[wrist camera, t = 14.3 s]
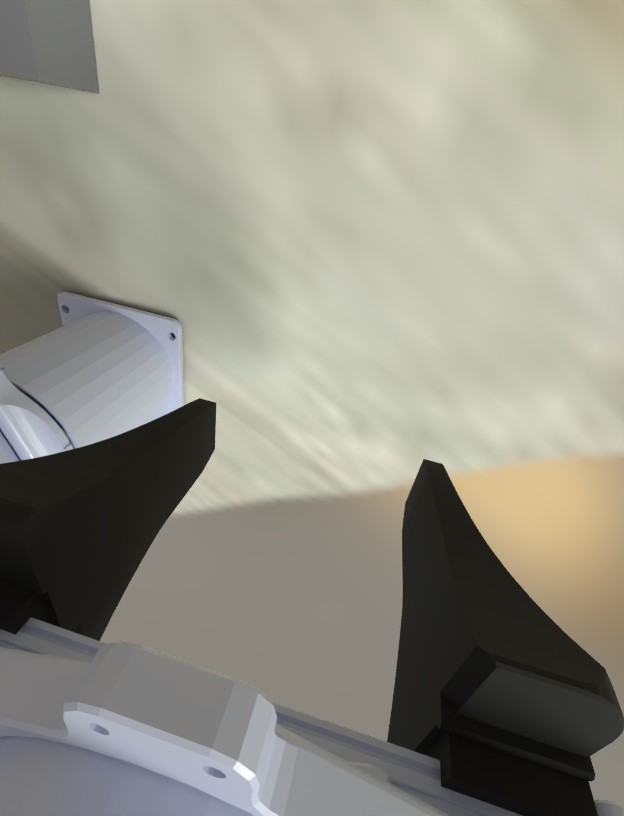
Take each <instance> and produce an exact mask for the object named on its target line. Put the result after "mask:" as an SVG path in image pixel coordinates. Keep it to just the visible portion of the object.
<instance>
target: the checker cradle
mask: <svg viewBox="0 0 624 816" xmlns="http://www.w3.org/2000/svg"><path fill="white" fill-rule="evenodd" d="M0 75H4V76H9V77H14V78H20V79H25V80H30V81H35V82H41V83H46V84H51V85H57V86H62V87H67V88H72V89H78V90H83V91H88V92H94V93H99V87H98V78H97V69H96V59H95V50H94V41H93V32H92V23H91V13H90V4H89V0H0Z"/></svg>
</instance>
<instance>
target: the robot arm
mask: <svg viewBox="0 0 624 816" xmlns="http://www.w3.org/2000/svg"><path fill="white" fill-rule="evenodd" d="M57 302H58V307H59V312H60V317H61V321H62V327H60V328H58V329H55V330H53V331H51V332H49V333H46V334H44V335H42V336H40V337H38V338H35V339H33V340H31V341H29V342H26V343H24V344H22V345H20V346H17V347H15V348H13V349H11V350H9V351H6V352H4V353H2V354H0V816H624V805H622V804H619V803H616V802H612V801H608V800H595V801H594V800H593V796H592V792H591V789H590V785H589V781H593V780H594V779H595V773H594V769H593V766H592V762H591V759H590V756H591V755H592V754H594V753H596V752H597V751H599V750H600V749H602V748H604V747H605V746H607V745H608V744H610V743H612V742H613V741H614V740H615V739H616V738H618V737H619V736H620V735H621V733H622V732H623V729H624V717H623V714H622V711H621V708H620V705H619V703H618V700H617V697H616V694H615V691H614V689H613V686H612V684H611V682H610V679H609V677H608V675H607V673H606V670H605V668H604V667H602V666H601V665H600V664H599V663H598V662H597V661H596V660H594V659H593V658H592V657H591V656H590V655H589V654H588V653H587V652H586V651H585V650H583V649H582V648H581V647H580V646H579V645H578V644H577V643H576V642H574V641H573V640H572V639H571V638H570V637H569V636H568V635H567V634H566V633H565V632H564V631H562V629H561V628H559V626H558V625H556V624H555V623H554V622H553V620H552V619H550V618H549V616H547V615H546V614H545V613H544V612H543V610H541V608H540V607H539V606H538V605H537V604H536V603H535V602H534V601H533V600H532V599H531V598H530V597H529V595H528V594H527V593H526V592H525V591H524V590H523V589H522V587H521V586H520V585H519V584H518V583H517V582H516V581H515V579H514V578H513V577H512V576H511V575H510V573H509V572H508V571H507V570H506V568H505V567H504V566H503V565H502V563H501V562H500V560H499V559H498V558H497V556H496V555H495V554H494V552H493V551H492V550H491V548H490V547H489V546H488V544H487V543H486V541H485V540H484V538H483V537H482V535H481V533H480V532H479V530H478V529H477V527H476V526H475V524H474V522H473V521H472V519H471V517H470V516H469V514H468V512H467V510H466V508H465V507H464V505H463V503H462V501H461V499H460V497H459V496H458V494H457V492H456V490H455V488H454V486H453V484H452V482H451V480H450V478H449V476H448V474H447V472H446V470H445V468H444V466H443V464H440V463H436V462H433V461H429V460H425V459H424V460H423V462H422V465H421V467H420V469H419V472H418V474H417V477H416V479H415V481H414V484H413V486H412V489H411V491H410V494H409V496H408V498H407V501H406V504H405V511H404V519H403V528H402V529H403V530H402V554H403V555H402V558H403V559H402V561H403V608H402V619H401V630H400V641H399V651H398V660H397V669H396V677H395V687H394V694H393V703H392V710H391V718H390V725H389V732H388V740H387V742H386V741H383V740H380V739H377V738H374V737H371V736H369V735H366V734H363V733H360V732H357V731H354V730H351V729H349V728H346V727H343V726H340V725H337V724H334V723H331V722H329V721H326V720H323V719H320V718H317V717H314V716H311V715H309V714H306V713H303V712H300V711H297V710H294V709H291V708H289V707H286V706H283V705H280V704H277V703H274V702H272V701H271V700H270V699H269V698H268V697H267V696H265V695H264V694H263V693H262V692H261V691H260V690H259V689H257V688H255V687H253V686H251V685H249V684H247V683H245V682H243V681H241V680H239V679H237V678H234V677H231V676H228V675H225V674H222V673H219V672H217V671H214V670H211V669H208V668H205V667H202V666H199V665H196V664H193V663H190V662H188V661H185V660H182V659H179V658H176V657H173V656H170V655H168V654H165V653H162V652H159V651H156V650H153V649H150V648H147V647H145V646H142V645H138V644H133V643H129V642H124V641H118V642H114V643H109V644H106V643H103V642H100V639H101V637H102V635H103V633H104V631H105V629H106V627H107V625H108V623H109V620H110V618H111V616H112V614H113V613H114V611H115V609H116V607H117V605H118V603H119V601H120V599H121V597H122V596H123V594H124V592H125V590H126V588H127V586H128V584H129V582H130V581H131V579H132V577H133V575H134V573H135V572H136V570H137V568H138V566H139V564H140V563H141V561H142V559H143V557H144V556H145V554H146V552H147V550H148V548H149V547H150V545H151V544H152V542H153V540H154V539H155V537H156V535H157V533H158V532H159V530H160V529H161V528H162V526H163V525H164V523H165V522H166V520H167V519H168V517H169V516H170V515H171V513H172V512H173V511H174V509H175V508H176V507H177V505H178V504H179V503H180V501H181V500H182V499H183V497H184V496H185V495H186V493H187V492H188V491H189V489H190V488H191V487H192V485H193V484H194V483H195V481H196V480H197V478H198V477H199V476H200V474H201V473H202V471H203V469H204V468H205V466H206V464H207V462H208V461H209V459H210V457H211V455H212V453H213V451H214V449H215V425H216V403H215V402H211V401H207V400H204V399H197V400H195V401H193V402H190V403H188V404H186V405H184V389H183V347H182V326H181V324H180V322H179V321H178V320H176V319H174V318H170V317H166V316H162V315H158V314H154V313H150V312H146V311H142V310H138V309H134V308H130V307H126V306H122V305H118V304H114V303H110V302H106V301H102V300H98V299H94V298H90V297H86V296H82V295H78V294H74V293H70V292H61V293H59V294H58V295H57ZM66 306H67V307H68V308H69V310H68V309H67V307H66ZM171 332H172V333H174V335H175V337H176V338H174V337H173V336H172V335H171Z"/></svg>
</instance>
